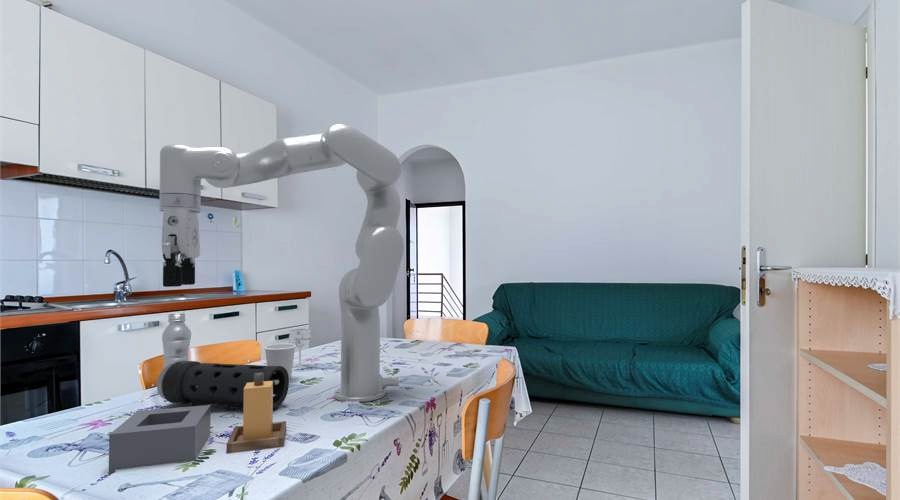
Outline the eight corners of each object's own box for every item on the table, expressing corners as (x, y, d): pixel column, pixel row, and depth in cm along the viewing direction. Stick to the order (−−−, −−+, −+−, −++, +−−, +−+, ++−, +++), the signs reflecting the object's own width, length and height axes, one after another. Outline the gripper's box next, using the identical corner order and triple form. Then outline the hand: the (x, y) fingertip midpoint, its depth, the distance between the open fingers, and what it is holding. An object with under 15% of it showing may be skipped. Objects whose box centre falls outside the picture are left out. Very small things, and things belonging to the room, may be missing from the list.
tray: (286, 431, 88) (286, 421, 88) (283, 449, 80) (283, 437, 80) (234, 437, 86) (234, 426, 86) (226, 456, 77) (226, 444, 77)
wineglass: (284, 370, 141) (284, 331, 141) (295, 365, 147) (295, 328, 148) (304, 371, 140) (305, 331, 140) (314, 366, 146) (315, 328, 147)
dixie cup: (284, 376, 133) (284, 342, 133) (301, 380, 128) (302, 345, 128) (257, 382, 126) (257, 346, 126) (275, 387, 121) (275, 349, 121)
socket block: (210, 436, 86) (210, 404, 86) (194, 463, 74) (195, 425, 74) (136, 444, 82) (137, 411, 82) (108, 473, 71) (109, 434, 71)
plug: (272, 434, 85) (273, 370, 86) (270, 443, 81) (271, 375, 82) (246, 437, 84) (247, 371, 85) (243, 446, 80) (243, 377, 80)
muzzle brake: (265, 419, 96) (265, 370, 96) (153, 411, 102) (153, 365, 102) (289, 405, 105) (290, 360, 106) (185, 399, 111) (186, 356, 111)
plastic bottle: (168, 389, 120) (169, 313, 120) (195, 388, 120) (196, 312, 121) (154, 396, 113) (155, 315, 114) (183, 395, 114) (184, 315, 114)
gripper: (188, 199, 89) (187, 286, 88) (209, 210, 106) (209, 283, 105) (144, 198, 87) (143, 287, 86) (173, 209, 104) (173, 284, 103)
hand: (179, 285), depth 96 cm, fingers open, 9 cm apart
